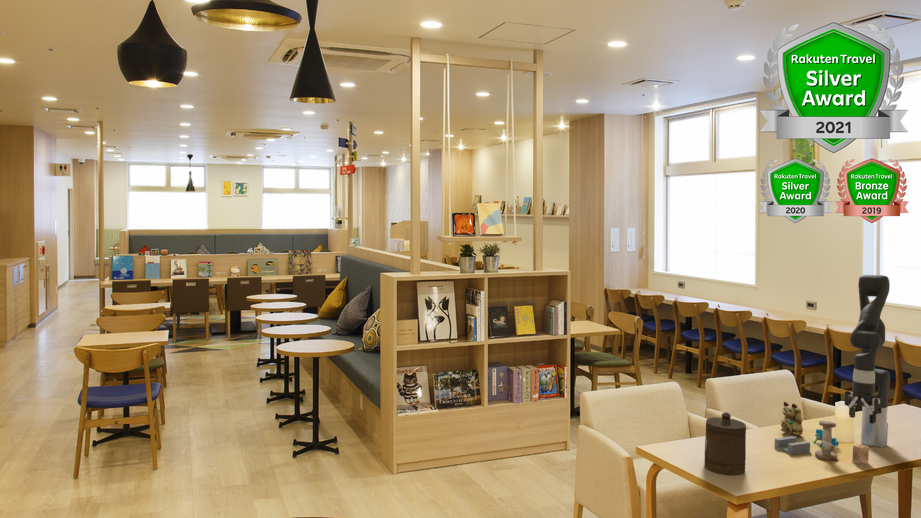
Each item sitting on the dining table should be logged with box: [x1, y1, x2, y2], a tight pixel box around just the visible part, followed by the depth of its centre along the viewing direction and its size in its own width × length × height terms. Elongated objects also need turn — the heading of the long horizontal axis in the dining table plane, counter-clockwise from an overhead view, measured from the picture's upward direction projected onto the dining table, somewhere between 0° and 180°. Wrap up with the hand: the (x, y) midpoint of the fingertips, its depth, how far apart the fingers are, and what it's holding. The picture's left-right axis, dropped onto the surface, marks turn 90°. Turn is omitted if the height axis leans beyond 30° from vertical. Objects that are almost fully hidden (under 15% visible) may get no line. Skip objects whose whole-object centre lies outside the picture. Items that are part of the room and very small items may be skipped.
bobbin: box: [814, 420, 838, 462], centre depth 267 cm, size 8×8×14 cm
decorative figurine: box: [780, 401, 804, 438], centre depth 296 cm, size 10×8×15 cm
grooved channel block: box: [774, 436, 811, 456], centre depth 276 cm, size 10×9×4 cm
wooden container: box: [704, 411, 747, 476], centre depth 254 cm, size 15×15×22 cm
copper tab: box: [851, 443, 870, 466], centre depth 262 cm, size 5×3×7 cm, turn 110°
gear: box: [813, 428, 840, 448], centre depth 282 cm, size 11×6×10 cm
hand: (861, 420), depth 261 cm, fingers open, 8 cm apart
